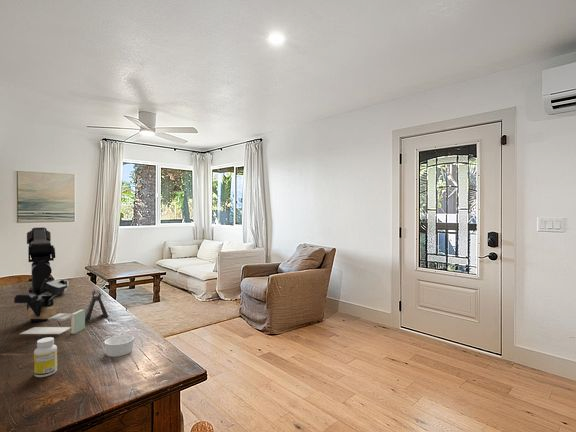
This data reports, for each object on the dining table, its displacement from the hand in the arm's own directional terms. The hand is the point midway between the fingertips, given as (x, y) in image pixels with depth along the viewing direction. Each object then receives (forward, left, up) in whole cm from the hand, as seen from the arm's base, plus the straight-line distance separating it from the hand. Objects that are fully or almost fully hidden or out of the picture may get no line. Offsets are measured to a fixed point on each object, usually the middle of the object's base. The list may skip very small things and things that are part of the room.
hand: (40, 315), depth 126 cm
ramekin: (+19, -39, -7) cm, 43 cm away
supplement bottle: (-1, -41, -7) cm, 41 cm away
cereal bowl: (+9, +65, -7) cm, 66 cm away
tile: (+11, -9, -7) cm, 16 cm away
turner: (+3, -2, -1) cm, 4 cm away
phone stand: (+20, +5, -7) cm, 22 cm away
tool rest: (+2, -1, -6) cm, 7 cm away
